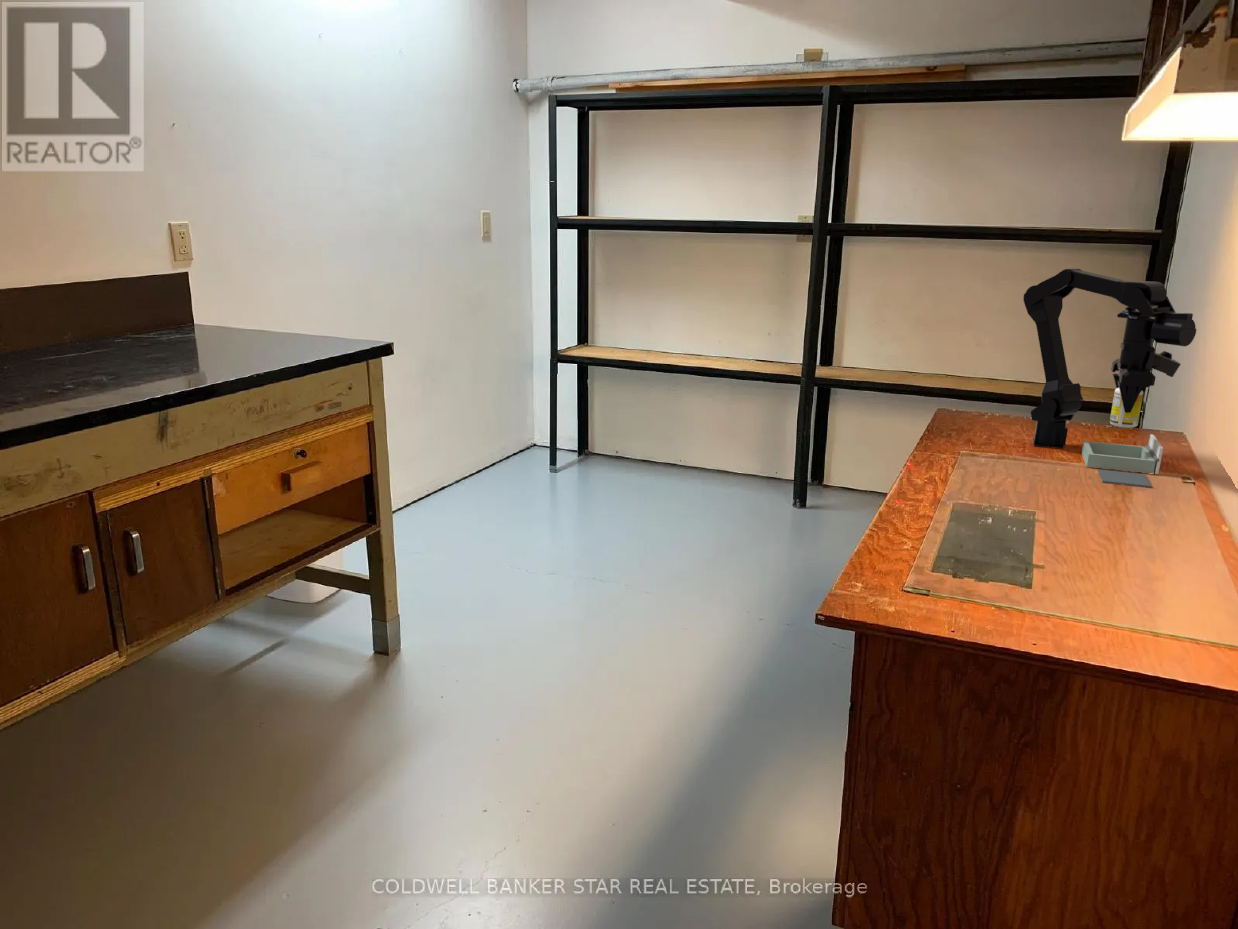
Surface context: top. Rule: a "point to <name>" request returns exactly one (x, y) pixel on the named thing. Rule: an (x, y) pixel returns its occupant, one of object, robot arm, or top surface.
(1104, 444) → the drawer
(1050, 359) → the robot arm
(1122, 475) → the mat
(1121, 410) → the supplement bottle
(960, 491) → the top surface
